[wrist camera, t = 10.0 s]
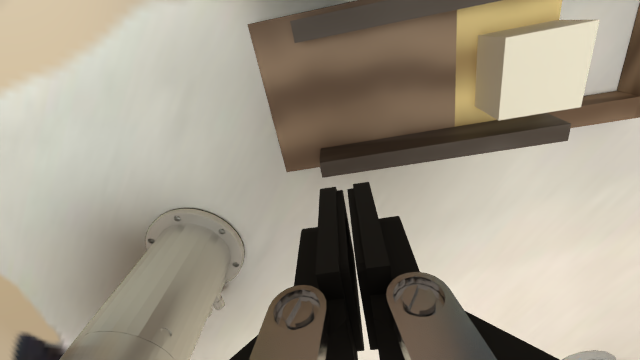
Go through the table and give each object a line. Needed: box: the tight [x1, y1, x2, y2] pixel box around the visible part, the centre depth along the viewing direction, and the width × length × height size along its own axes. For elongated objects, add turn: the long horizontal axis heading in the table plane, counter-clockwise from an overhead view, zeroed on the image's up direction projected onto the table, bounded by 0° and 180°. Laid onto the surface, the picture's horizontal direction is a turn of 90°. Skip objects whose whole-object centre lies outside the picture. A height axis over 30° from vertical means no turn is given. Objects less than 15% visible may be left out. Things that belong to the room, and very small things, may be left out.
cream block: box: [475, 20, 599, 120], centre depth 24 cm, size 6×6×4 cm
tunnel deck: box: [248, 0, 640, 178], centre depth 26 cm, size 14×35×6 cm, turn 101°
